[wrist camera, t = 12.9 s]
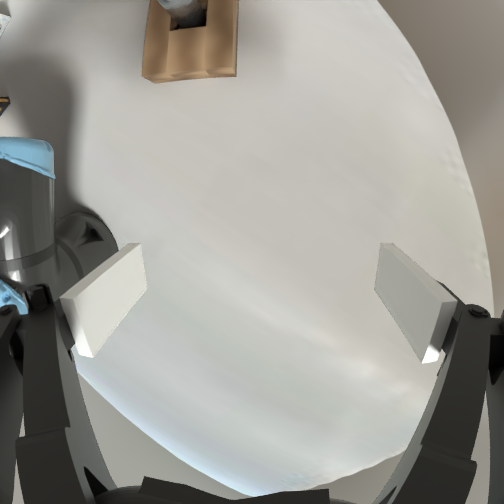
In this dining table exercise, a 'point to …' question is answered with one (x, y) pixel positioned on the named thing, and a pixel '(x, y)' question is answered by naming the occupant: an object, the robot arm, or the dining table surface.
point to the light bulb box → (3, 22)
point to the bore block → (191, 44)
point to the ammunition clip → (3, 104)
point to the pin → (185, 12)
